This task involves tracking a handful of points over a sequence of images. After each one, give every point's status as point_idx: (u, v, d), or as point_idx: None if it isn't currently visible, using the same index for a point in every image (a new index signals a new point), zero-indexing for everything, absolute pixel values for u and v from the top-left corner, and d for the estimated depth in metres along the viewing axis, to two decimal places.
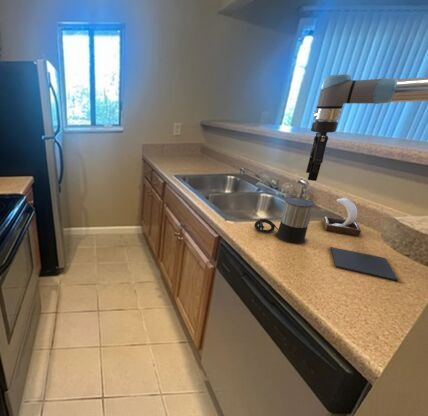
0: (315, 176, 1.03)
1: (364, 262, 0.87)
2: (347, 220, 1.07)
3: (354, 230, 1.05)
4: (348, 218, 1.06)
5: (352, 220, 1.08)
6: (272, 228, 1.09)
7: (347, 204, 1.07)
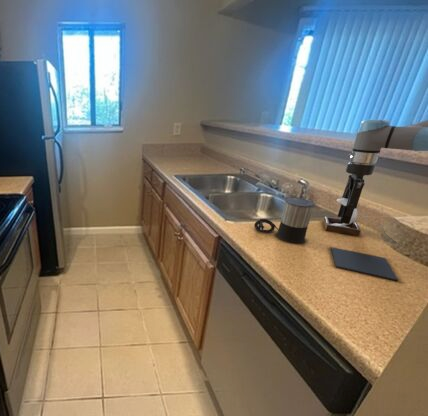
0: (348, 219, 1.06)
1: (364, 262, 0.87)
2: None
3: (354, 230, 1.05)
4: None
5: (352, 220, 1.08)
6: (272, 228, 1.09)
7: None
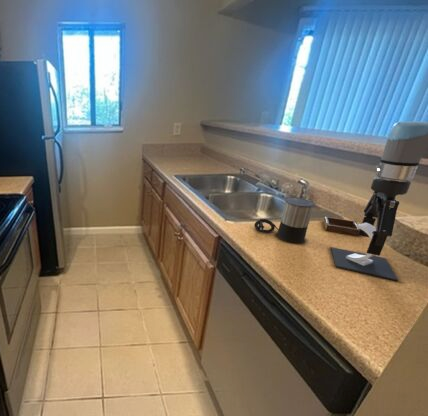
0: (378, 250, 0.79)
1: None
2: None
3: (354, 230, 1.05)
4: None
5: None
6: (272, 228, 1.09)
7: (371, 232, 0.83)
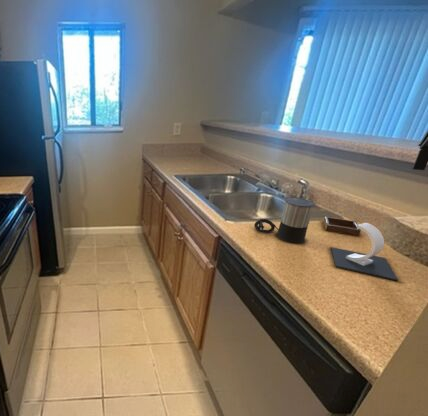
0: None
1: None
2: (371, 252, 0.83)
3: (354, 230, 1.05)
4: (372, 250, 0.83)
5: (377, 252, 0.84)
6: (272, 228, 1.09)
7: (371, 232, 0.83)
